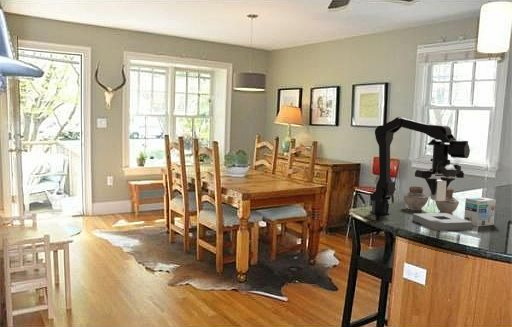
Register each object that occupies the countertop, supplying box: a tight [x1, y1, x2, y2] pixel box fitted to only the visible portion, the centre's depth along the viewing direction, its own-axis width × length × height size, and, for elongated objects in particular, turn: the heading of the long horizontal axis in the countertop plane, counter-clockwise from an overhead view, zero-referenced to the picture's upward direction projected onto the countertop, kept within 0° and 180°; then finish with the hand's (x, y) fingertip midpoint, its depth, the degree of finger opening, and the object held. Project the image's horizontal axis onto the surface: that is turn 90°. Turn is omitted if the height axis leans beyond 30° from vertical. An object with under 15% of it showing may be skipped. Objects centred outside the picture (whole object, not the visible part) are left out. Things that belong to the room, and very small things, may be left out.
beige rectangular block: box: [430, 179, 446, 201], centre depth 174 cm, size 4×4×8 cm
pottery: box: [402, 185, 460, 215], centre depth 200 cm, size 11×25×12 cm, turn 49°
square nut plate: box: [412, 212, 473, 231], centre depth 175 cm, size 16×16×3 cm
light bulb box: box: [463, 196, 497, 227], centre depth 179 cm, size 11×7×11 cm, turn 116°
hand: (438, 194), depth 174 cm, fingers closed on beige rectangular block, 4 cm apart
